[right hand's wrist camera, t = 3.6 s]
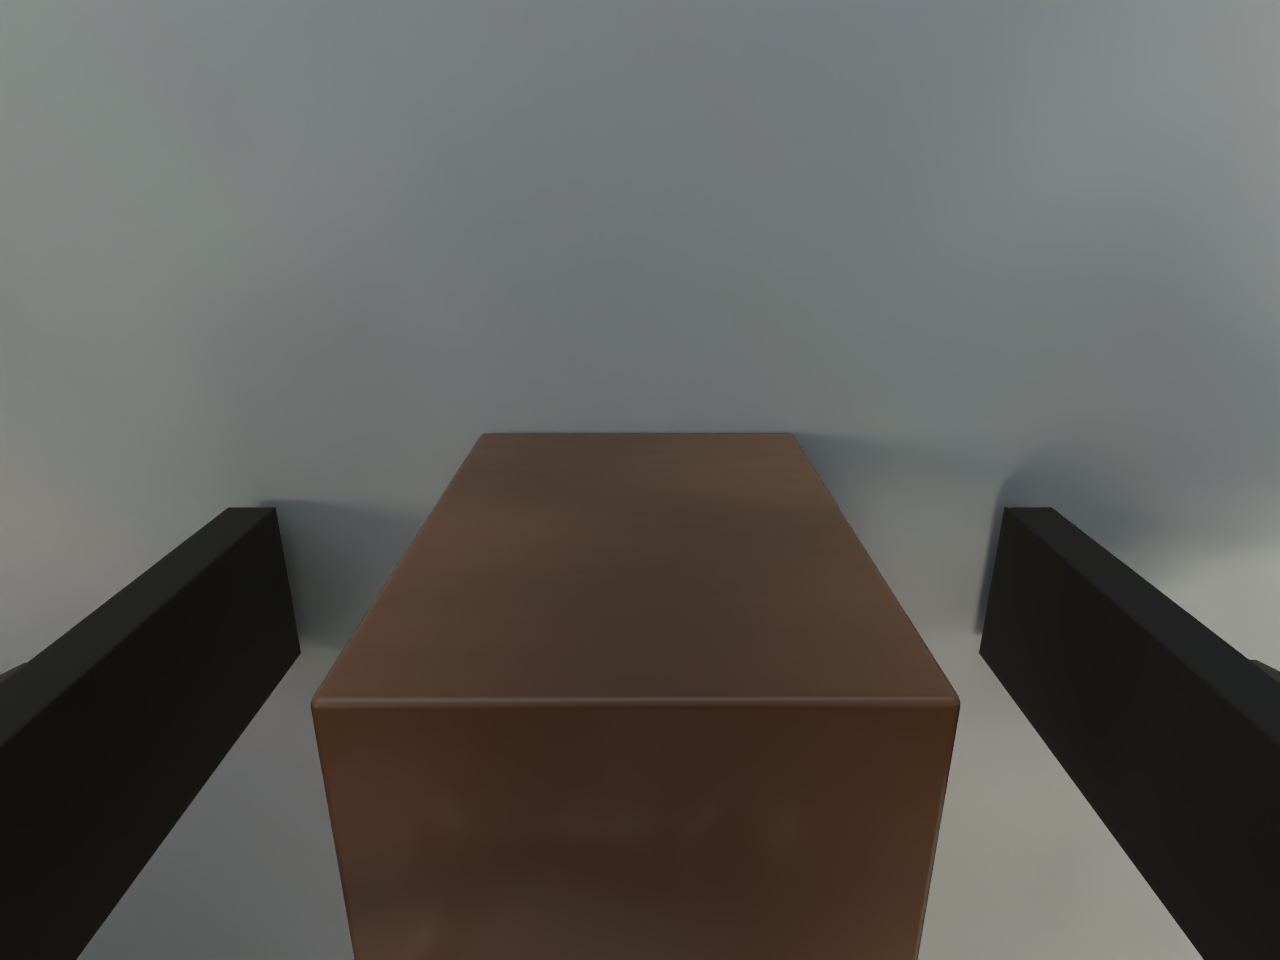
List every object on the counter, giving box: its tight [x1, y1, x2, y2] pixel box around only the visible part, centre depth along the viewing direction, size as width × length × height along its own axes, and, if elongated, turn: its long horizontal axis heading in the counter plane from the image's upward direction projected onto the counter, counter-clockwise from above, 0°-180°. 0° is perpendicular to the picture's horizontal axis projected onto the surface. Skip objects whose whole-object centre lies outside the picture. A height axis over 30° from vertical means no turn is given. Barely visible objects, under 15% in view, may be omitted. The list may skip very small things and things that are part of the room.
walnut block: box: [311, 434, 960, 960], centre depth 10 cm, size 5×5×7 cm
